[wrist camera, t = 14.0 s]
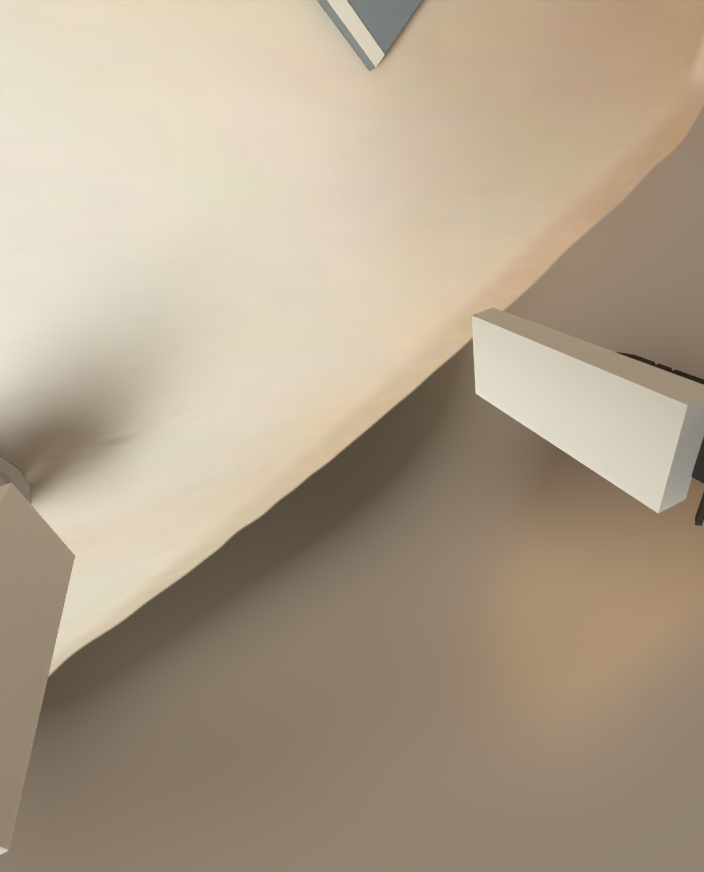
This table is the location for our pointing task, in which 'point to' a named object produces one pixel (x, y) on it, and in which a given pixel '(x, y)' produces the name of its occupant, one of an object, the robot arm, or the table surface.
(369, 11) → the slate card
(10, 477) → the french press
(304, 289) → the table surface
